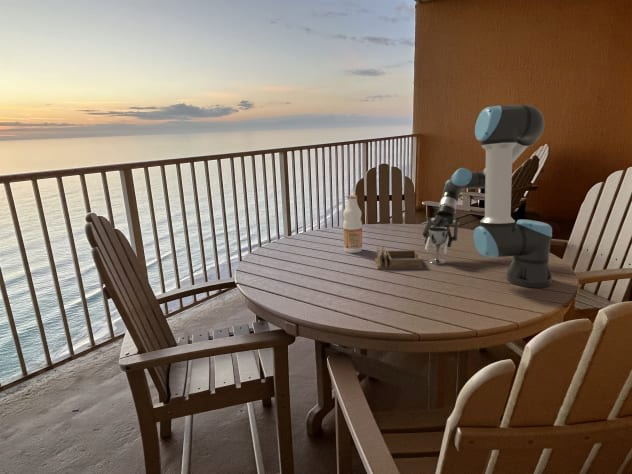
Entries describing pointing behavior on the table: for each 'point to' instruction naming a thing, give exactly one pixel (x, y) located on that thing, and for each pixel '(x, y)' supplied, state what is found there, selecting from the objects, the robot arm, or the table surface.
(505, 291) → the table surface
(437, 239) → the silver goblet
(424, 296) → the table surface
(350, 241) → the fruit juice
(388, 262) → the wooden tray
